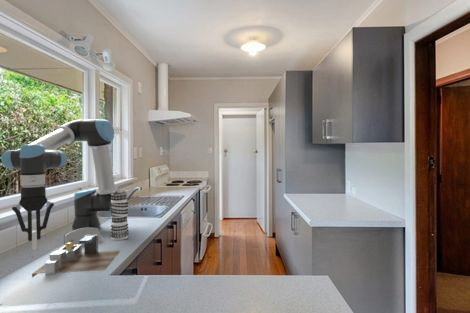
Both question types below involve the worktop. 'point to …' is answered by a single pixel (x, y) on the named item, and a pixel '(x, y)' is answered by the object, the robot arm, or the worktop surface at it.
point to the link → (61, 259)
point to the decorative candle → (119, 215)
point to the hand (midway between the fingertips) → (34, 248)
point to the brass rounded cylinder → (69, 246)
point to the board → (86, 262)
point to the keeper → (90, 244)
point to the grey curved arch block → (81, 235)
